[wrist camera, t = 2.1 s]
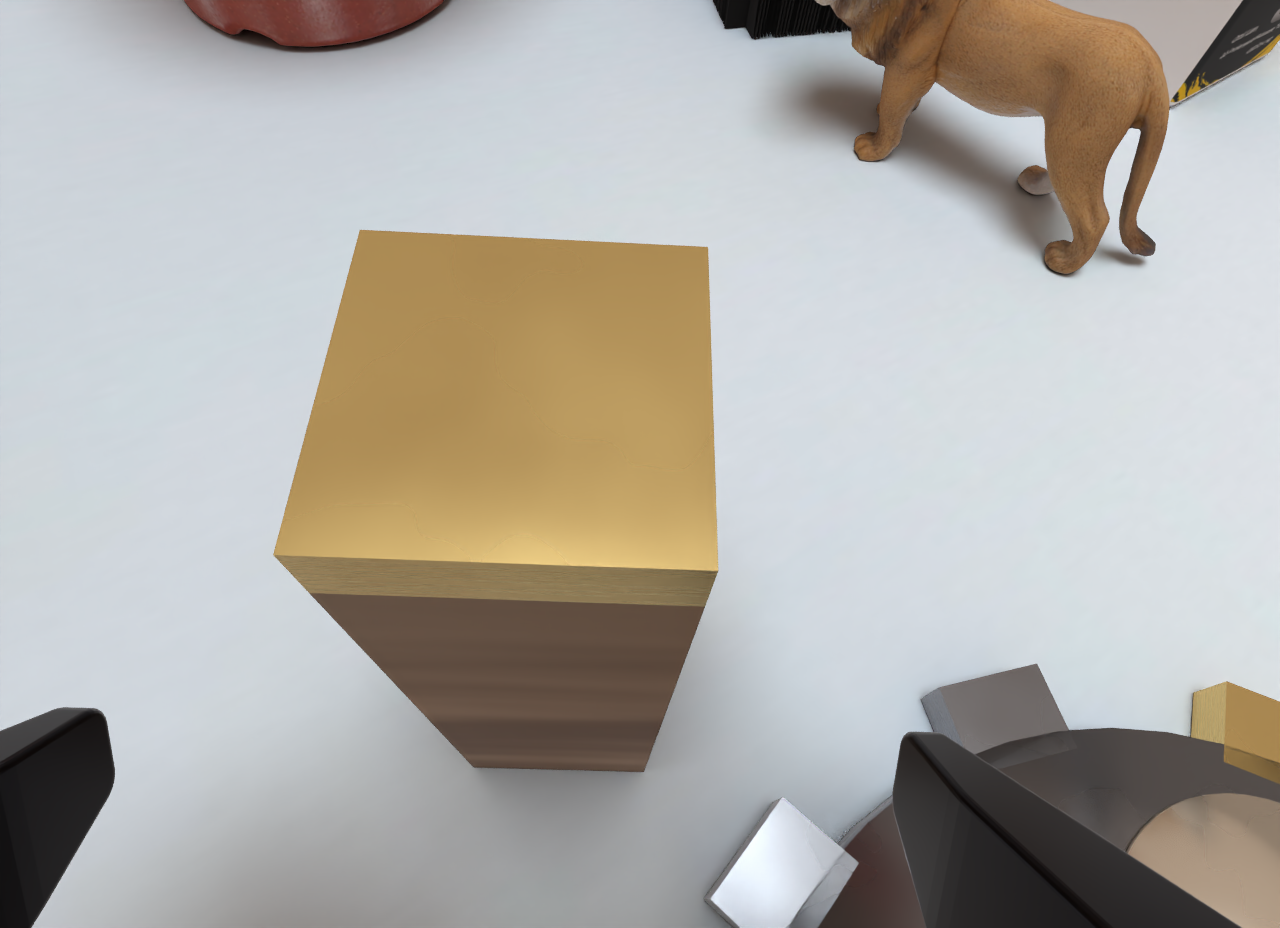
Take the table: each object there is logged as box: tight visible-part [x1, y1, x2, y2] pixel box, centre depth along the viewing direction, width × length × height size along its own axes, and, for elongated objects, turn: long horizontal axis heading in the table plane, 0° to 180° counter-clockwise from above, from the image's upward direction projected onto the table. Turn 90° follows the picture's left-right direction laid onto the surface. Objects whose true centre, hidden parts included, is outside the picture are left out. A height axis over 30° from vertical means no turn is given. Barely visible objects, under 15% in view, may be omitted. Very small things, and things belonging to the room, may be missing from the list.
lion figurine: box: [815, 0, 1169, 274], centre depth 25 cm, size 15×5×9 cm, turn 56°
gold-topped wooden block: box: [273, 230, 718, 772], centre depth 14 cm, size 4×4×13 cm
